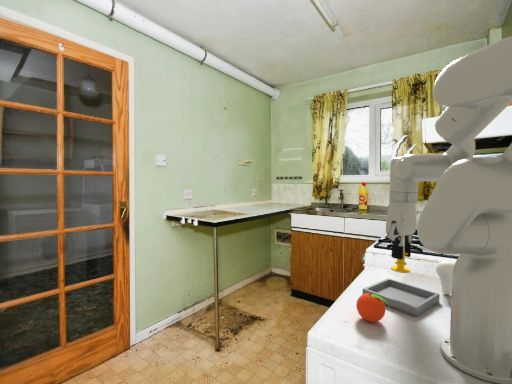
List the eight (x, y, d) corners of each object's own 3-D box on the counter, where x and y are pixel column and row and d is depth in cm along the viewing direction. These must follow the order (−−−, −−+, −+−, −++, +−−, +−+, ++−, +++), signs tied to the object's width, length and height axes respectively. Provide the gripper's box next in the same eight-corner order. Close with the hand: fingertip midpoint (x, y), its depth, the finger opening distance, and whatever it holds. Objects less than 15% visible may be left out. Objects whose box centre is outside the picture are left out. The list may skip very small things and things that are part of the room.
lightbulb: (450, 291, 87) (451, 258, 87) (463, 299, 81) (464, 264, 81) (431, 290, 88) (432, 257, 87) (442, 298, 82) (443, 263, 81)
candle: (409, 268, 82) (411, 219, 81) (411, 274, 77) (413, 222, 76) (390, 266, 84) (392, 218, 83) (391, 271, 79) (393, 220, 79)
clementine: (391, 319, 69) (391, 293, 69) (387, 332, 63) (388, 303, 63) (359, 311, 73) (359, 286, 73) (353, 322, 67) (354, 295, 67)
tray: (439, 302, 79) (439, 294, 79) (415, 317, 70) (416, 308, 70) (388, 285, 92) (388, 278, 92) (362, 296, 83) (362, 288, 82)
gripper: (403, 196, 87) (401, 250, 88) (376, 198, 78) (374, 258, 79) (428, 197, 81) (426, 255, 82) (402, 199, 72) (400, 265, 73)
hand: (401, 256), depth 80 cm, fingers closed on candle, 3 cm apart
